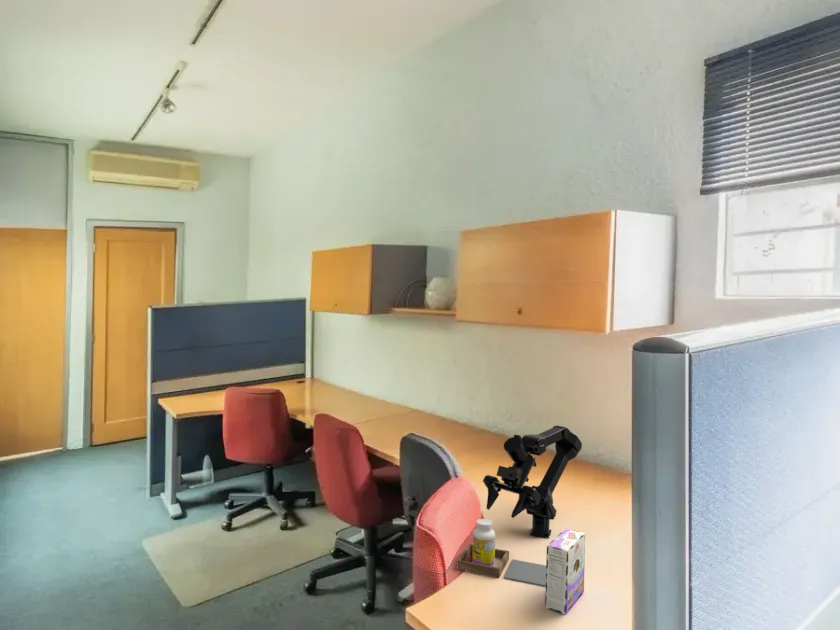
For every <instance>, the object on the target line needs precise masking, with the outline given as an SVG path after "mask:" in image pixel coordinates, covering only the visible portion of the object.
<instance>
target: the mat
mask: <svg viewBox="0 0 840 630" xmlns="http://www.w3.org/2000/svg"><path fill="white" fill-rule="evenodd" d="M503 579H506V580H510V581H515V582H520V583H525V584H530V585H533V586H540V587H544V588H546V564H545V565H544V564H541V563H540V564H539V563H535V562H529V561H524V560H520V559H519V560H518V559H512V560H511V562H510V563H509V566H508V567H507V570H506V572H505V573H504V575H503Z"/></svg>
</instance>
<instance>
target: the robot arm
mask: <svg viewBox="0 0 840 630" xmlns="http://www.w3.org/2000/svg"><path fill="white" fill-rule="evenodd" d="M551 445H554V447H555V452H556V453H555V455H554V456H553V458H552V461H551V462H550V464H549V466H548V468H547V470H546V471H545V474H544V476H543V478H542V479H541V482H540V483H539V485H538V486H536V485H532V486H529V485H526V484H525V483H526V482H527V483H528V482H529V481H530V480H529V477H528V476H529V474H530V473H531V470H532V469H533V467H534V468H537V462H536V457H534V456H539V457H540V456H542V455H543V454H544V453H546V450H547V447H549V446H551ZM582 447H583V444H582V441H581V439H580V438H579V436H577V435H576V434H574V433H573V432H571V431H570V429H569V428H568V427H566V426H562V425H554V426H553V427H551V428H550V429H547V430H545V431H542V432H540V433H539V434H524V435H523V436H521V435H519V434H514V435H513V437H510V438H508V439H507V440H505V441H504V443H503V449H504V451H505V452H506V454H507V455H508V457H509V458H510V460H511V461H512V462H513V463H512V466H511V465H510V466H508V467H506V466H502V465H498V468H497V472H496V476H493V475H490V474H486V475H485V476H484V478H483V479H482V482H483V484H484V486H485V487H486V489H487V500H486V510H488V511H489V510H490V509H491V508H492V506H493V505H494V504H495V502H496V500H497V498H498V497H499V496H500V492H501V491H502V490H503V491H506V492H510V493H512V494H513V493H514V494H515V495H516V494H517V495H518V500H517V502H516V504H515V506H514V508H513V509H512V512H511V515H510V516H511V518H512V519H514V518H515V517H517V516H518V515H519V514H521V513H522V512H523V511H525V510H526V514H527V515H531V516H532V519H531V520H532V521H531V522H532V523H531V524H532V525H531V527H532V528H531V530H530V531H529V536H533V535H535V536H534V537H539V536H541V538H545V537H548V538H547V539H550V537H549V536H551V534H552V532H551V531H552V529H551V528H550V520H555V518H556V515H557V509H556V508H555V506H554V497H553V493H554V491H555V489H556V487H557V485H558V483H559V480H560V479H561V477H562V475H563V473H564V471H565V469H566V467H567V466H568V463H569V461H571V460H573V459H575V458H576V457H577V456H578V454H579V453H580V452H581V450H582ZM533 455H534V456H533ZM497 477H500V479H501V480H502V482H501V481H500V480H499V479H498V478H497Z"/></svg>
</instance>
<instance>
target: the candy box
mask: <svg viewBox="0 0 840 630" xmlns="http://www.w3.org/2000/svg"><path fill="white" fill-rule="evenodd" d="M585 551H586V533H585V532H581V531H577V530H573V529H570V528H564V529H562V531H561V532H560V533H559V534H558V535H557V536H556V537H555V538H554V539H553V540H551V541H550V542H549V543H548V544H546V558H545V559H546V563H545V565H546V587H545V594H544V595H545V596H544V598H545V599H544V601H545V602H544V607H545V609H548V610H550V611H554V612H556V613H559V614H560V615H561V614H562V615H564V616H565V615H568V613H569V611H570V610H571V609H572V608H573V606H574V605H575V604H576V603H577V602H578V600H579V599H580V597H581V596H582V595H583V593H585V565H586V564H585V563H586V559H585V553H586V552H585Z"/></svg>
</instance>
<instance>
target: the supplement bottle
mask: <svg viewBox="0 0 840 630" xmlns="http://www.w3.org/2000/svg"><path fill="white" fill-rule="evenodd" d="M472 545H473V554H472V558H471V559H472V560H471V562H472V563H477V564H482V565H487V566H492V567H495V563H496V562H495V561H496V558H495V549H496V532H495V530H494V529H493V521H492V520H490V519H488V518H479V519H476V527H475V529H474V530H473V533H472Z"/></svg>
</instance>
